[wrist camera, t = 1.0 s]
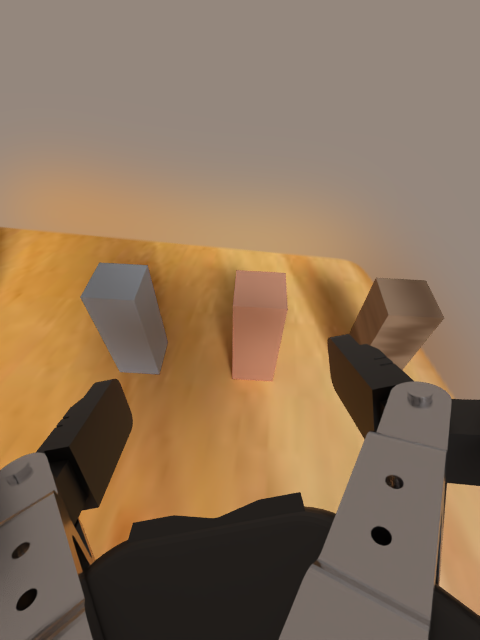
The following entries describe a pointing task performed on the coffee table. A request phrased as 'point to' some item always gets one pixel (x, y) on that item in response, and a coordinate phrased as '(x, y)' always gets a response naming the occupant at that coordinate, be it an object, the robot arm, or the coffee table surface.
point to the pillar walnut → (397, 318)
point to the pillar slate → (127, 316)
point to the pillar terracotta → (258, 323)
